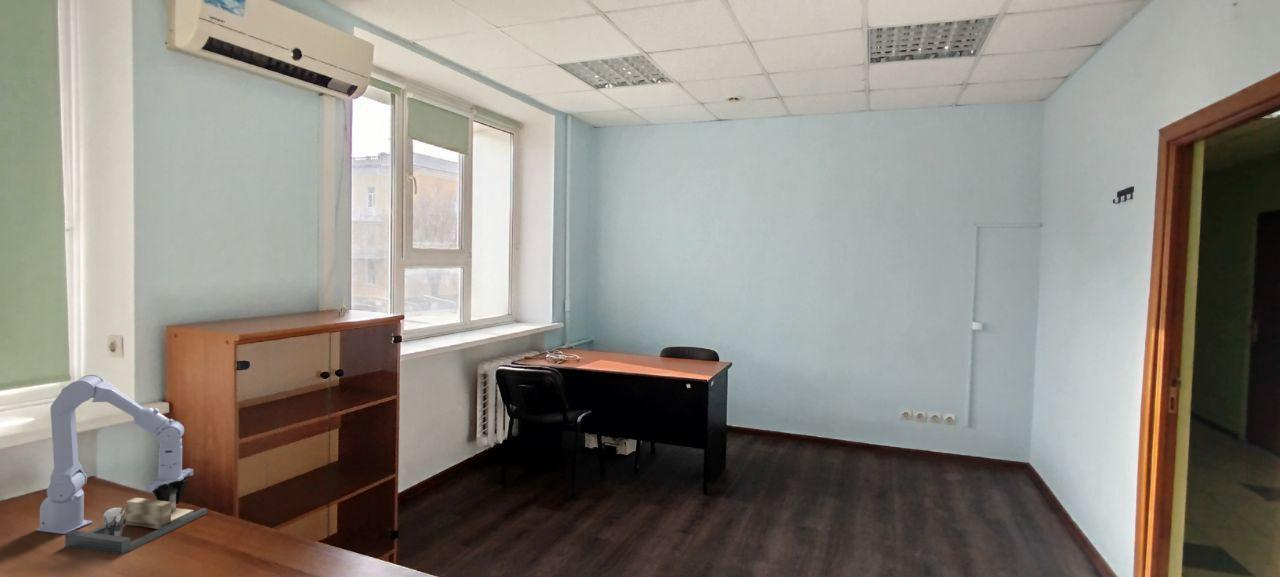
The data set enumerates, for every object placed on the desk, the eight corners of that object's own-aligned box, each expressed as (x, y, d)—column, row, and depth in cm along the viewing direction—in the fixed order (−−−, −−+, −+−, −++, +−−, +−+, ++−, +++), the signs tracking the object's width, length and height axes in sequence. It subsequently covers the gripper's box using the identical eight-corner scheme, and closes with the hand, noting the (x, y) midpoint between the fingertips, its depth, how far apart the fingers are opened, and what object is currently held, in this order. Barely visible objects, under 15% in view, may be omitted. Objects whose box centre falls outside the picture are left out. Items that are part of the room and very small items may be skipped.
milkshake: (114, 546, 169) (114, 510, 168) (98, 543, 170) (99, 507, 169) (131, 538, 173) (131, 504, 173) (115, 536, 174) (116, 501, 174)
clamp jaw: (125, 524, 181) (126, 497, 180) (159, 509, 191) (160, 483, 191) (161, 529, 179) (162, 501, 179) (193, 513, 190) (194, 488, 189)
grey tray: (65, 547, 167) (65, 534, 166) (157, 506, 194) (157, 495, 194) (121, 554, 164) (121, 541, 164) (207, 513, 192) (207, 502, 191)
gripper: (160, 471, 180) (159, 517, 180) (202, 456, 194) (201, 498, 195) (139, 469, 181) (138, 514, 181) (182, 454, 195) (181, 495, 196)
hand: (169, 505), depth 188 cm, fingers closed on clamp jaw, 3 cm apart
